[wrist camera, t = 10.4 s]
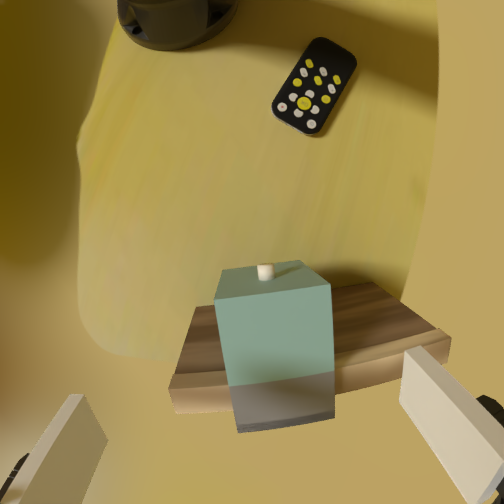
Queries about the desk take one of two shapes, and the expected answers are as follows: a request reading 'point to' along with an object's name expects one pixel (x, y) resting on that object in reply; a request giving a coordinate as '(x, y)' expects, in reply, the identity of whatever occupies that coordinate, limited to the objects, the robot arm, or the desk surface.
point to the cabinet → (277, 344)
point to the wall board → (345, 348)
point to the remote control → (314, 86)
